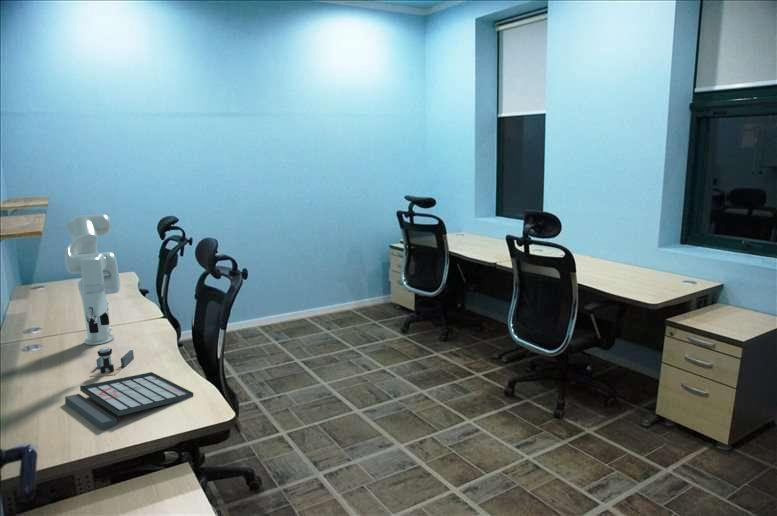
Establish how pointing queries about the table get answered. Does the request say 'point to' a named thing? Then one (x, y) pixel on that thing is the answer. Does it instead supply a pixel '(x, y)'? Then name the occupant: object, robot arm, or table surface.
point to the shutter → (124, 397)
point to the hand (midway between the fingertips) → (99, 328)
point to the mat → (105, 373)
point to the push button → (105, 360)
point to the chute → (124, 360)
